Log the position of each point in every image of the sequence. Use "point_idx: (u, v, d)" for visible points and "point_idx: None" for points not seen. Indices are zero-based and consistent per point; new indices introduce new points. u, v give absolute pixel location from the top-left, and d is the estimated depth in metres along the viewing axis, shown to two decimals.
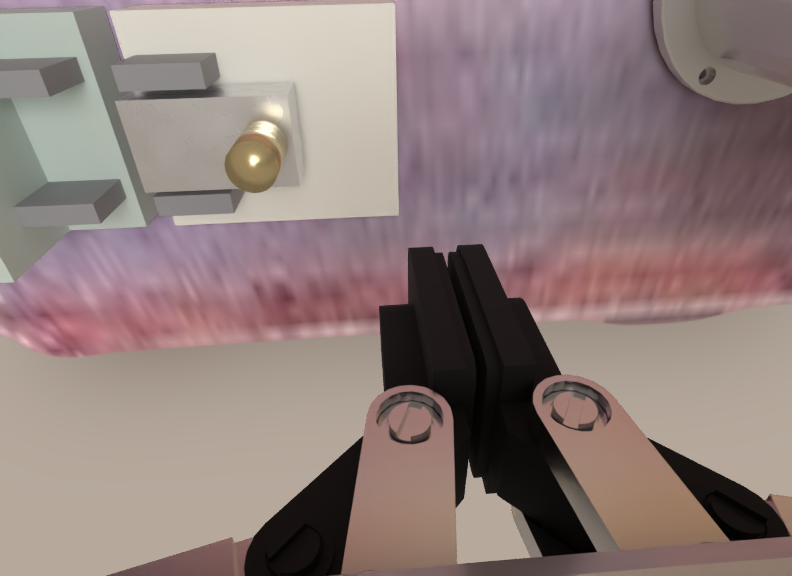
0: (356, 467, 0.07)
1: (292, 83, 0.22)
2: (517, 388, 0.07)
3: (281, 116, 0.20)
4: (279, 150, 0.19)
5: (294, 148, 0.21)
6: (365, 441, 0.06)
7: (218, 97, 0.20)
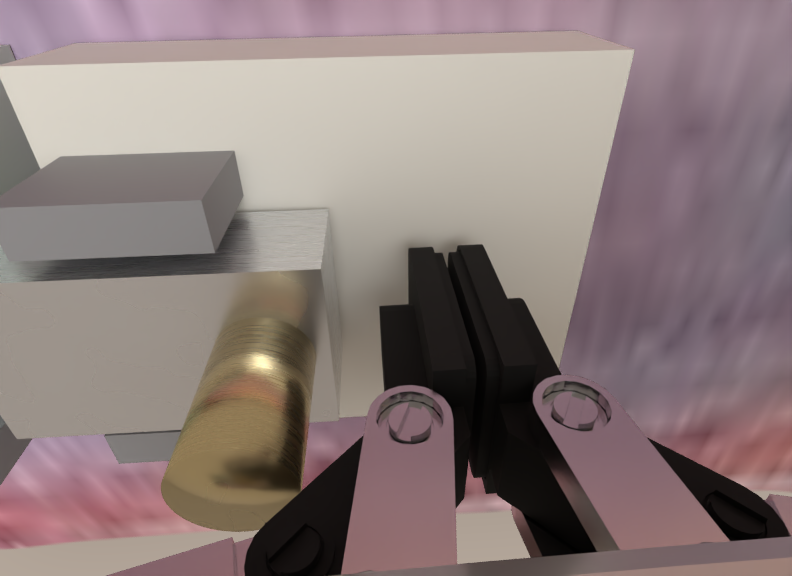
0: (356, 467, 0.07)
1: (326, 213, 0.10)
2: (517, 388, 0.07)
3: (305, 308, 0.09)
4: (303, 415, 0.08)
5: (331, 360, 0.10)
6: (365, 441, 0.06)
7: (159, 273, 0.09)
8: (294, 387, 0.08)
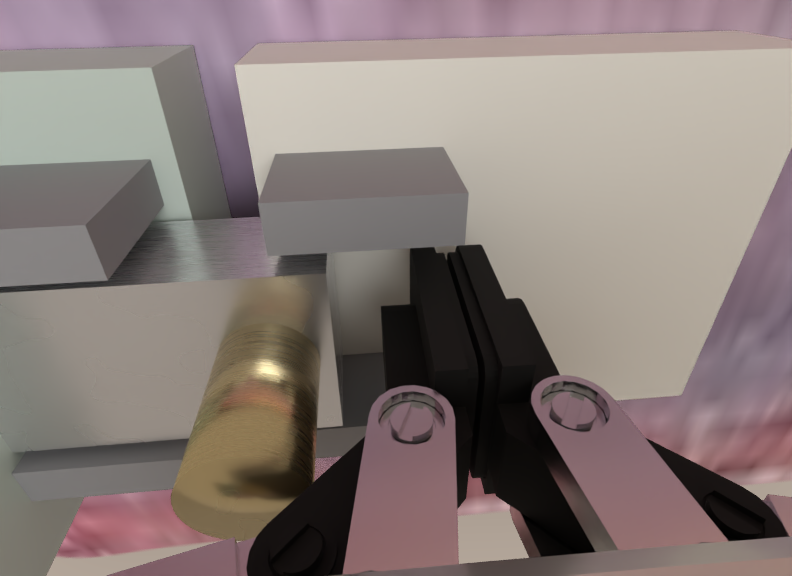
0: (358, 467, 0.07)
1: None
2: (515, 389, 0.07)
3: (310, 313, 0.09)
4: (311, 421, 0.08)
5: (335, 365, 0.10)
6: (367, 441, 0.06)
7: (162, 281, 0.08)
8: (302, 393, 0.08)
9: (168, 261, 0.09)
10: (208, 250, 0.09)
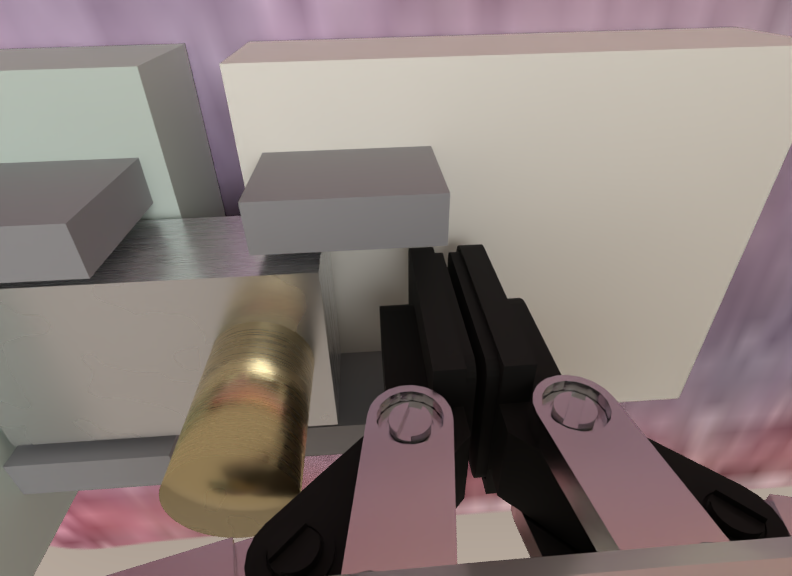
0: (356, 467, 0.07)
1: None
2: (517, 388, 0.07)
3: (303, 312, 0.09)
4: (301, 420, 0.08)
5: (329, 364, 0.10)
6: (365, 441, 0.06)
7: (156, 278, 0.08)
8: (292, 391, 0.08)
9: (163, 259, 0.09)
10: (203, 248, 0.09)
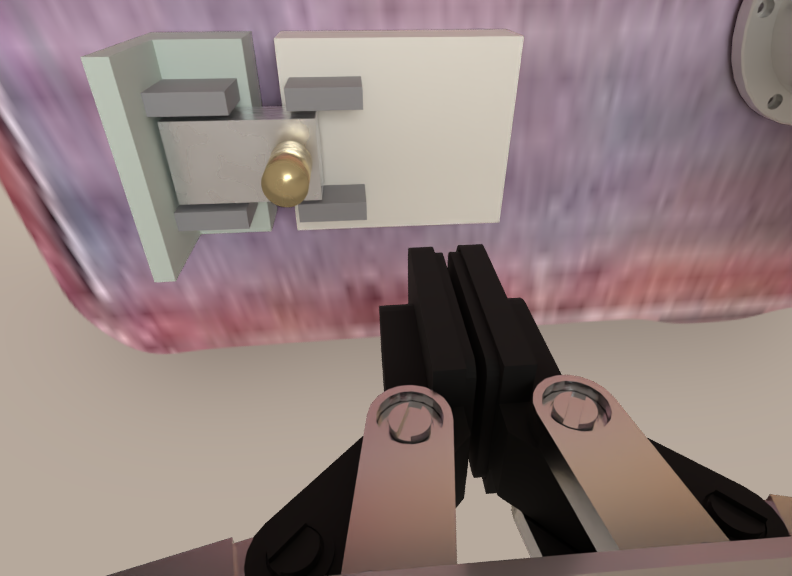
0: (356, 467, 0.07)
1: None
2: (517, 388, 0.07)
3: (308, 137, 0.23)
4: (308, 169, 0.22)
5: (318, 166, 0.23)
6: (365, 441, 0.06)
7: (252, 119, 0.22)
8: (305, 160, 0.22)
9: (252, 115, 0.23)
10: (267, 113, 0.23)
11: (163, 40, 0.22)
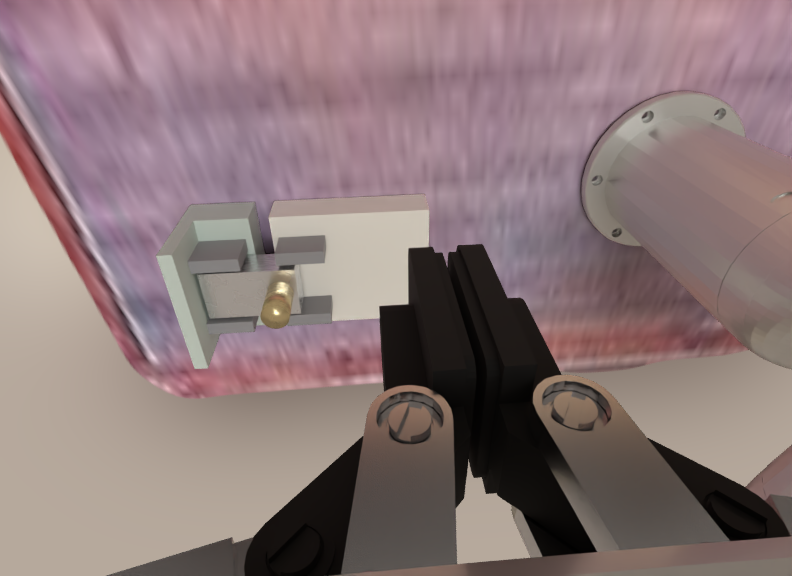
0: (356, 467, 0.07)
1: None
2: (517, 388, 0.07)
3: (290, 279, 0.36)
4: (290, 303, 0.35)
5: (298, 294, 0.37)
6: (365, 441, 0.06)
7: (255, 271, 0.35)
8: (287, 297, 0.35)
9: (255, 266, 0.36)
10: (265, 263, 0.36)
11: (199, 221, 0.36)
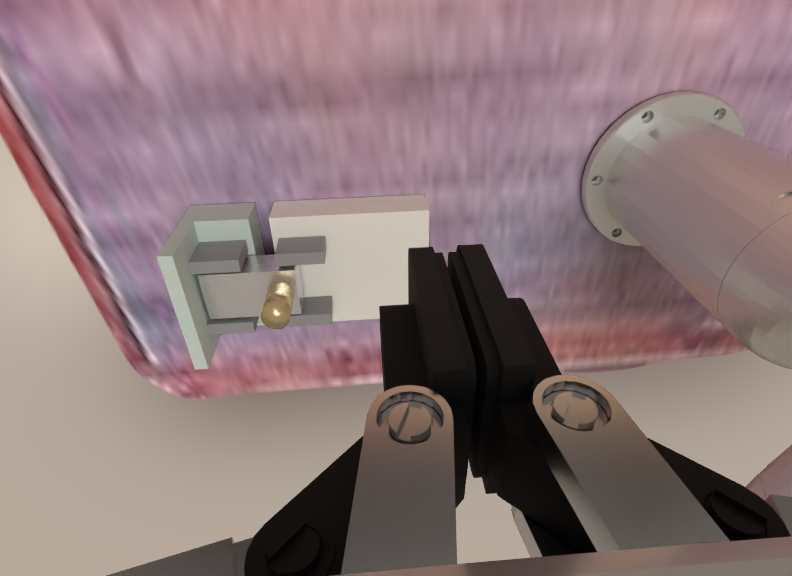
0: (356, 467, 0.07)
1: None
2: (517, 388, 0.07)
3: (291, 280, 0.36)
4: (290, 304, 0.35)
5: (298, 295, 0.37)
6: (365, 441, 0.06)
7: (255, 271, 0.35)
8: (288, 297, 0.35)
9: (255, 267, 0.36)
10: (265, 264, 0.36)
11: (200, 221, 0.36)
